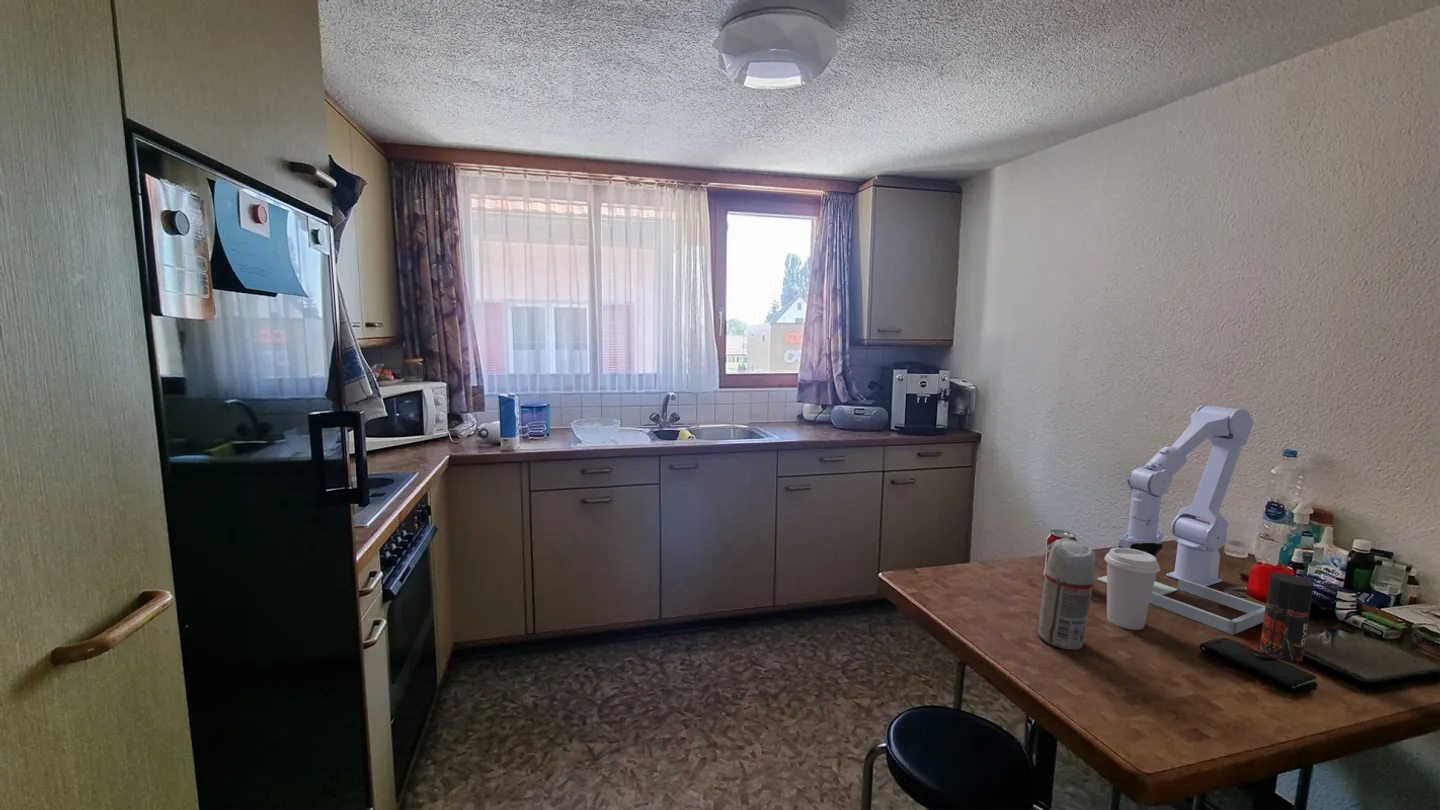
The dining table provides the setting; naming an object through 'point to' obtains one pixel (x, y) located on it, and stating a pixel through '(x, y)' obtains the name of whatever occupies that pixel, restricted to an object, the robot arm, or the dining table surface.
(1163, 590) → the pad
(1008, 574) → the dining table surface
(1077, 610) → the spray can
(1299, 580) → the deodorant
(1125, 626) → the coffee cup
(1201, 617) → the frame
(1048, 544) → the soda can
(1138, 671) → the dining table surface
